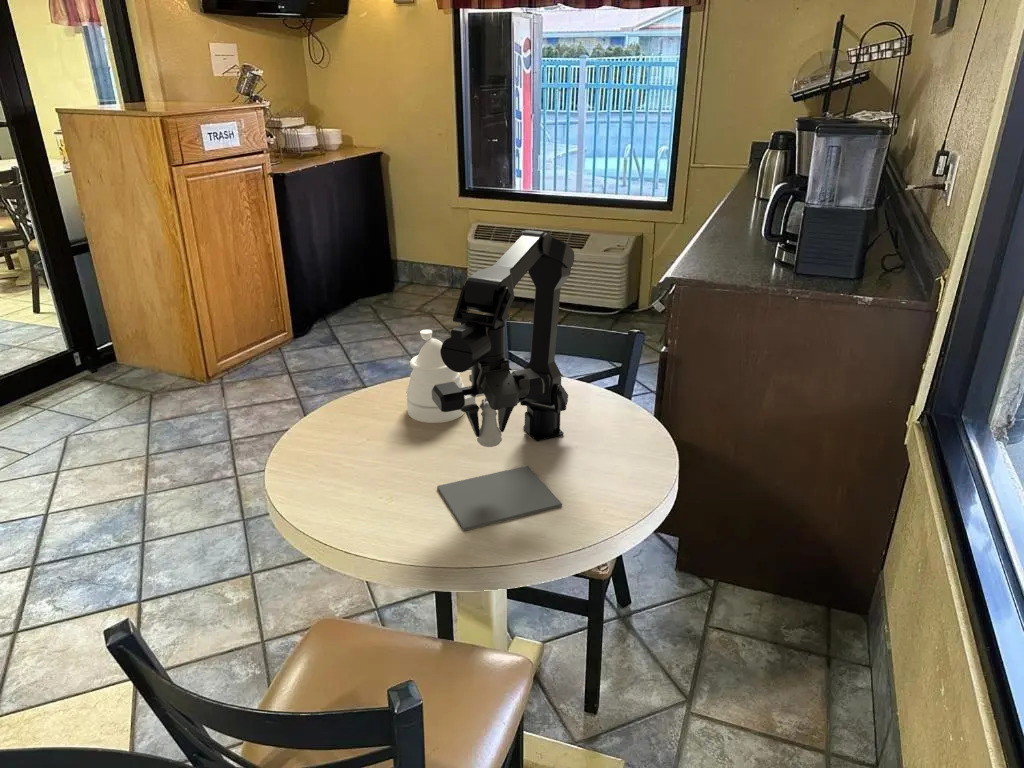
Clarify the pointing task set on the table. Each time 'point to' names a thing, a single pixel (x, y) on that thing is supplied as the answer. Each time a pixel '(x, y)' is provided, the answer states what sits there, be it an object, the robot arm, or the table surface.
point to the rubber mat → (497, 497)
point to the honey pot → (429, 382)
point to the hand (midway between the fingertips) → (489, 433)
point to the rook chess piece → (489, 427)
